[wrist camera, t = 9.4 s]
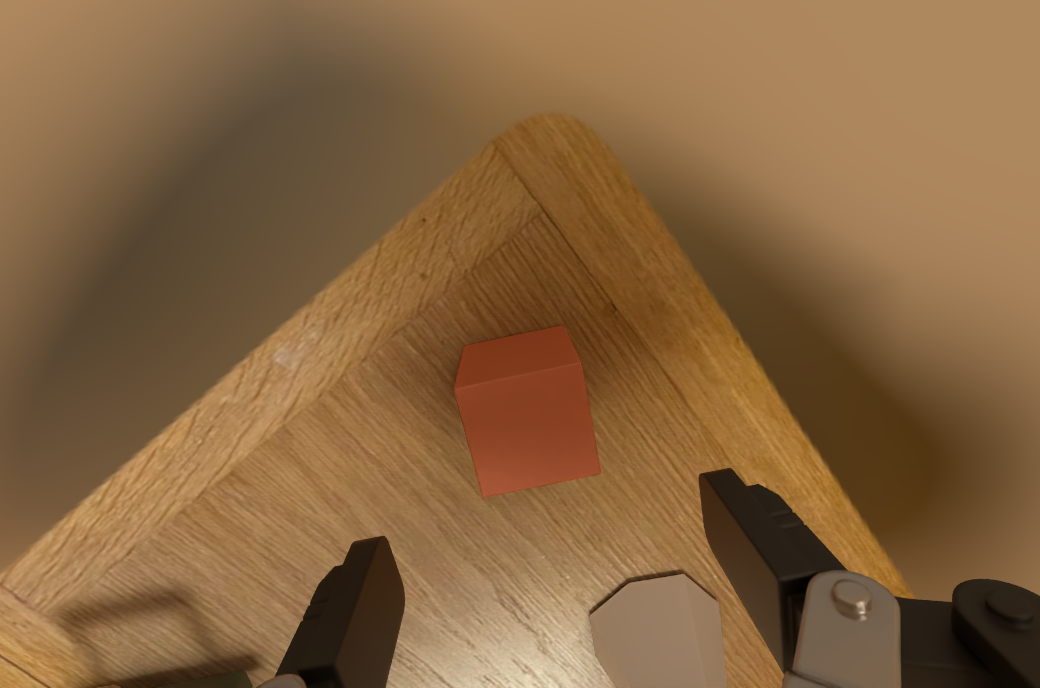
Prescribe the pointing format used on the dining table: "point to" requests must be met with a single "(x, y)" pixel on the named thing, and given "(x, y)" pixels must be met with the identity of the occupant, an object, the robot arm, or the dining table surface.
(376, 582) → the robot arm
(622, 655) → the flask
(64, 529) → the dining table surface
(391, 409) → the dining table surface
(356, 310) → the dining table surface
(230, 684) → the drawer
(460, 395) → the block
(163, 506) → the dining table surface
